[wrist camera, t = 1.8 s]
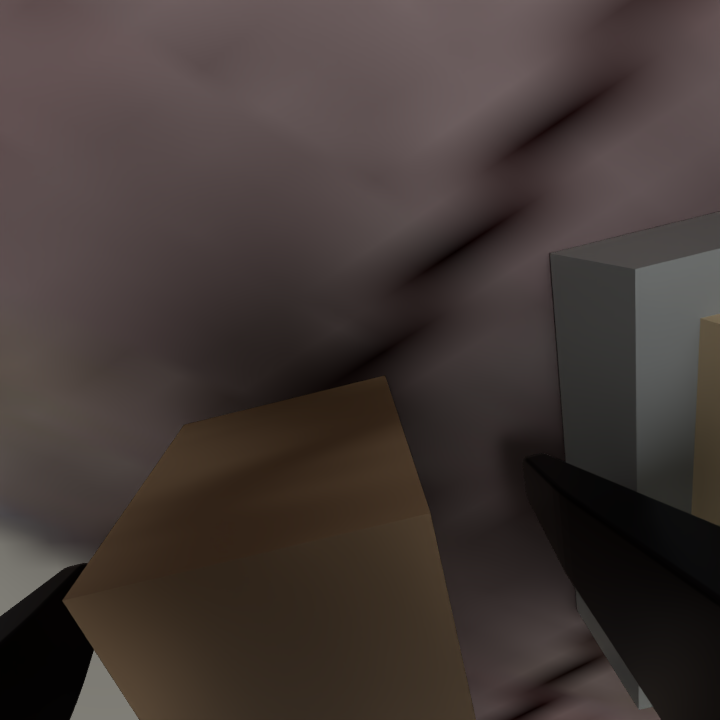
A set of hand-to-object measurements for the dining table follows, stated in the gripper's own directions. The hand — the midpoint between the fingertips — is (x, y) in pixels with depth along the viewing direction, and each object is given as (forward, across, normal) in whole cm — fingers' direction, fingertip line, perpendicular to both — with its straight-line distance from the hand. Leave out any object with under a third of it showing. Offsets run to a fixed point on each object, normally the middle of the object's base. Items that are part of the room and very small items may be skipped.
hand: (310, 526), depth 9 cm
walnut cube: (+2, 0, 0) cm, 2 cm away
